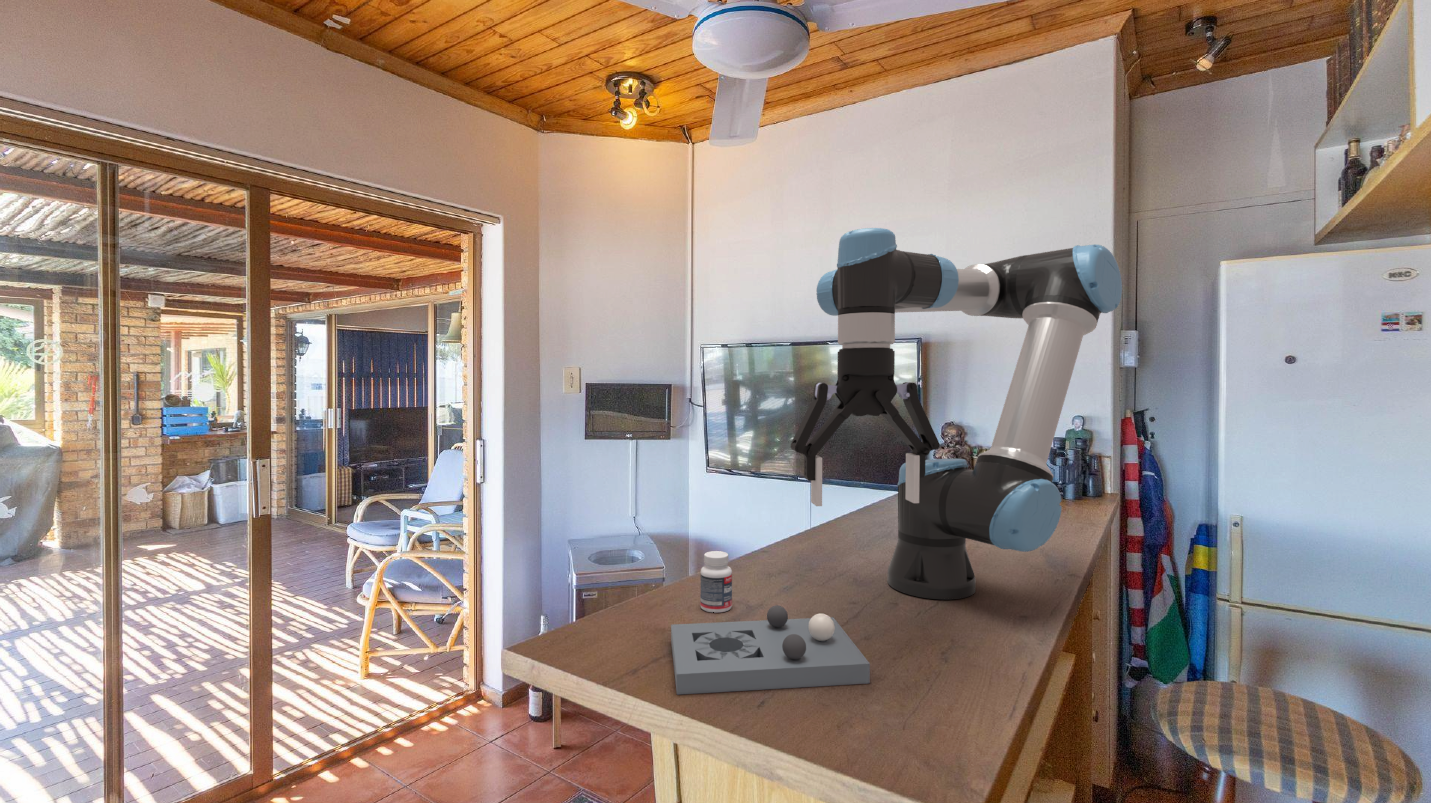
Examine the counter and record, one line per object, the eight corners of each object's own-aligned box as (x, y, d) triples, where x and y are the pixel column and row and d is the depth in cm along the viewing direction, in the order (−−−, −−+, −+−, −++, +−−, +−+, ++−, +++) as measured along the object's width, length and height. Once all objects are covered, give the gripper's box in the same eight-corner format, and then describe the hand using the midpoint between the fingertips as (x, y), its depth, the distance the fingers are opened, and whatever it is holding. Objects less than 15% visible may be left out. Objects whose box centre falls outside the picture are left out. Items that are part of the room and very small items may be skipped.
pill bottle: (728, 614, 100) (728, 560, 100) (697, 612, 101) (697, 558, 101) (734, 602, 105) (734, 550, 105) (704, 600, 106) (704, 549, 106)
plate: (833, 633, 93) (833, 617, 93) (869, 683, 78) (869, 663, 78) (671, 641, 90) (671, 624, 90) (676, 694, 75) (676, 674, 75)
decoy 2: (802, 652, 81) (802, 629, 81) (808, 663, 78) (809, 639, 78) (779, 653, 81) (780, 630, 80) (785, 664, 78) (785, 640, 77)
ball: (830, 633, 87) (830, 609, 87) (837, 644, 83) (838, 618, 83) (805, 635, 86) (805, 610, 86) (812, 646, 83) (812, 620, 83)
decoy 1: (785, 622, 91) (785, 601, 91) (790, 630, 88) (790, 609, 88) (764, 623, 90) (765, 602, 90) (769, 631, 87) (769, 610, 87)
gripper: (939, 348, 90) (938, 494, 91) (769, 348, 87) (769, 499, 88) (967, 345, 82) (965, 505, 83) (781, 345, 79) (781, 511, 80)
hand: (864, 503), depth 86 cm, fingers open, 13 cm apart
